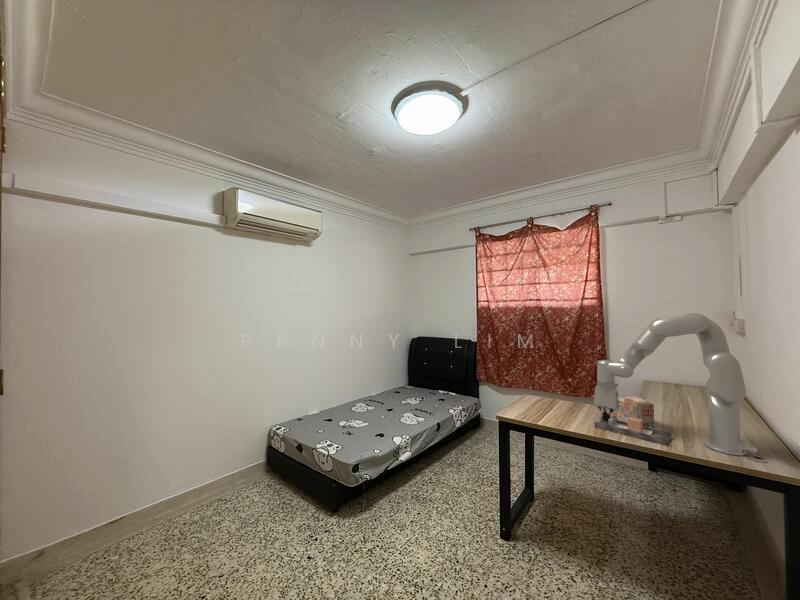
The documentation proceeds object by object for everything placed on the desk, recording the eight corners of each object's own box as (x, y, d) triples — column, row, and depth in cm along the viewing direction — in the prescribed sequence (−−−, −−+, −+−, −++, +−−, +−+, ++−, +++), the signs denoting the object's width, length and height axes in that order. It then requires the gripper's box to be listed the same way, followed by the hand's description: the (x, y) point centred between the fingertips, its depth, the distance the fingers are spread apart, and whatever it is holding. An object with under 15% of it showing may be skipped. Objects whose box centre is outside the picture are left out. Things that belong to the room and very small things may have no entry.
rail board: (671, 438, 143) (671, 432, 143) (667, 446, 135) (666, 439, 135) (601, 421, 164) (601, 416, 164) (594, 427, 156) (594, 421, 156)
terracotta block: (642, 430, 149) (642, 419, 149) (640, 432, 145) (640, 422, 145) (630, 427, 152) (629, 416, 152) (627, 429, 149) (627, 419, 149)
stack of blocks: (612, 413, 178) (612, 392, 178) (623, 413, 178) (622, 392, 178) (642, 428, 157) (642, 403, 157) (654, 428, 157) (654, 403, 157)
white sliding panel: (652, 432, 147) (652, 424, 147) (649, 437, 141) (648, 429, 141) (613, 423, 159) (613, 415, 159) (608, 427, 153) (608, 419, 153)
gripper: (625, 386, 155) (625, 423, 155) (591, 381, 166) (592, 415, 166) (621, 388, 150) (621, 426, 150) (587, 383, 161) (587, 418, 161)
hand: (606, 420), depth 158 cm, fingers closed
